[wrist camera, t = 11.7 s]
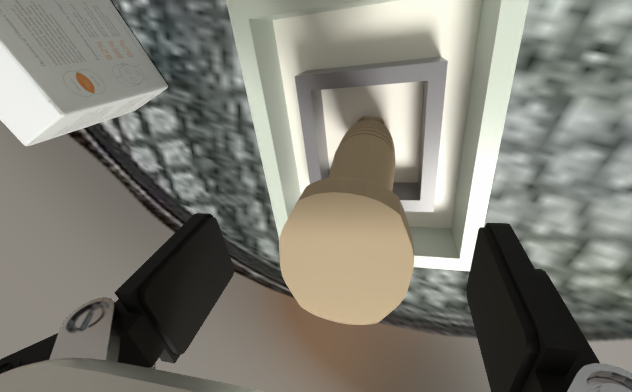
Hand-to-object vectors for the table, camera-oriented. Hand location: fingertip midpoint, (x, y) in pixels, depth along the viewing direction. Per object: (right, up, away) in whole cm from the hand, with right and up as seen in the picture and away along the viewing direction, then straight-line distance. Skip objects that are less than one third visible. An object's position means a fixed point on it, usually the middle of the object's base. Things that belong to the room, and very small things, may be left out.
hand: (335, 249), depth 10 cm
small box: (-18, +15, +16) cm, 29 cm away
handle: (+4, +7, +13) cm, 15 cm away
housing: (+4, +8, +14) cm, 16 cm away
